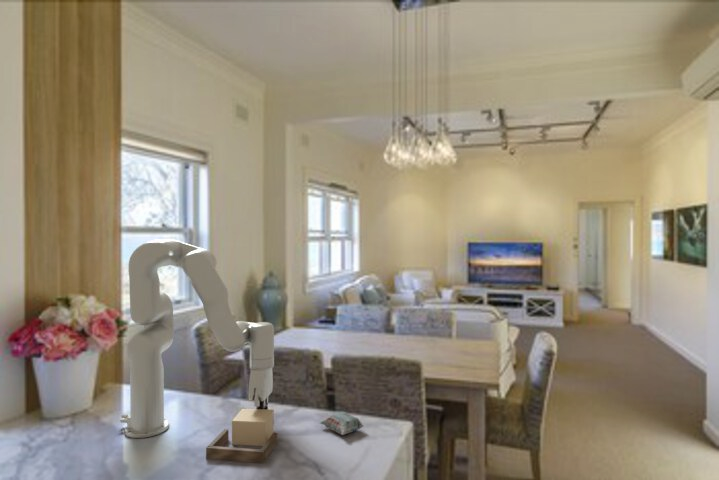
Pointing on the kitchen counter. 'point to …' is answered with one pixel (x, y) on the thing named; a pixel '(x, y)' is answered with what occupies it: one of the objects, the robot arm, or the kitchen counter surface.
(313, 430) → the kitchen counter surface
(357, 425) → the packaged food
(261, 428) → the carton
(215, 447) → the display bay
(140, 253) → the robot arm
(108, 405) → the kitchen counter surface
